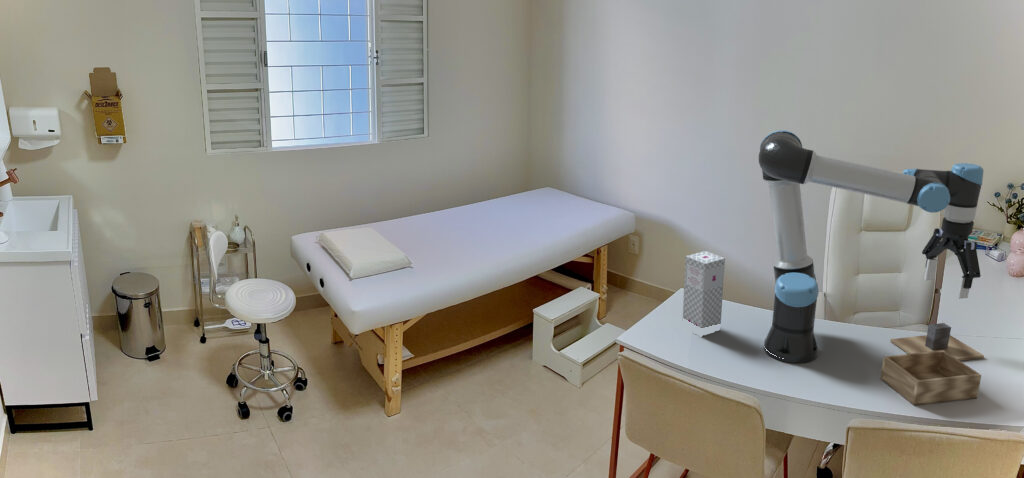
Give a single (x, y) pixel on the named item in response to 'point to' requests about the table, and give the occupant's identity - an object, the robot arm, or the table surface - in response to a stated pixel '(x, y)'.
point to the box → (703, 289)
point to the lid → (937, 343)
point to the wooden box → (930, 377)
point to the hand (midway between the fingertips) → (945, 288)
